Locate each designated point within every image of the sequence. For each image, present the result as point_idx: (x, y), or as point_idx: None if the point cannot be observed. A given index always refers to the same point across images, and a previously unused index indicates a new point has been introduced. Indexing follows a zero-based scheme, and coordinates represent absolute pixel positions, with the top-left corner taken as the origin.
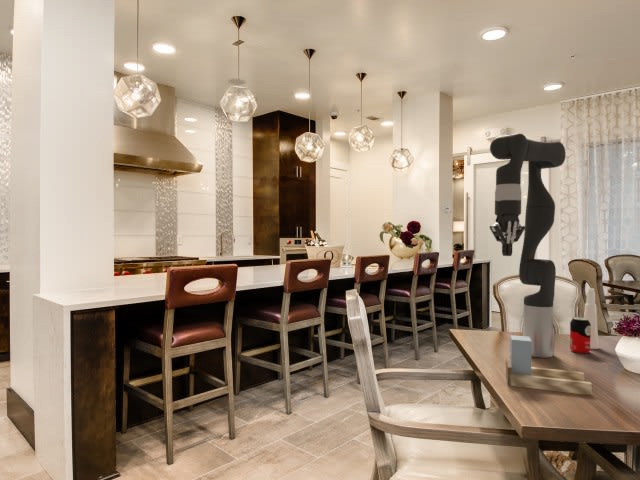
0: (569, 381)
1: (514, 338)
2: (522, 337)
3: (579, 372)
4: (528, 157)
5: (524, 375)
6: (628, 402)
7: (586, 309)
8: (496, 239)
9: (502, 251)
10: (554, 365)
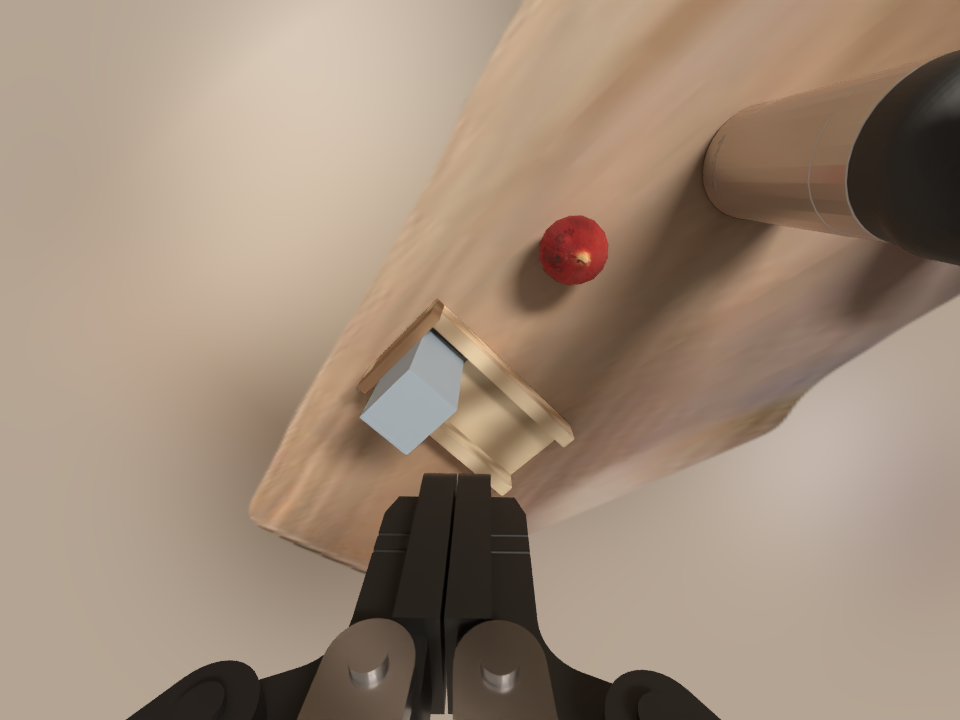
0: (469, 468)
1: (381, 409)
2: (422, 409)
3: (563, 436)
4: None
5: None
6: (532, 524)
7: None
8: (141, 718)
9: (382, 529)
10: (663, 290)
